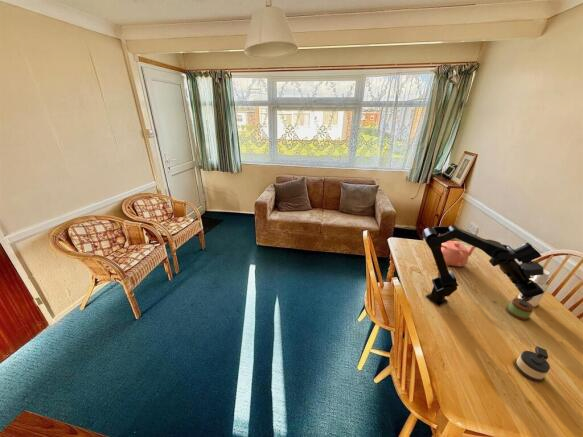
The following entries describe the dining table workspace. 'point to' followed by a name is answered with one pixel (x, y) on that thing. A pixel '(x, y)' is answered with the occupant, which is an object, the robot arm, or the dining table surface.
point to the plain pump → (541, 353)
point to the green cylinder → (520, 309)
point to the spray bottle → (541, 282)
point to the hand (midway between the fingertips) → (530, 291)
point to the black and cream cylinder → (532, 366)
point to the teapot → (456, 253)
